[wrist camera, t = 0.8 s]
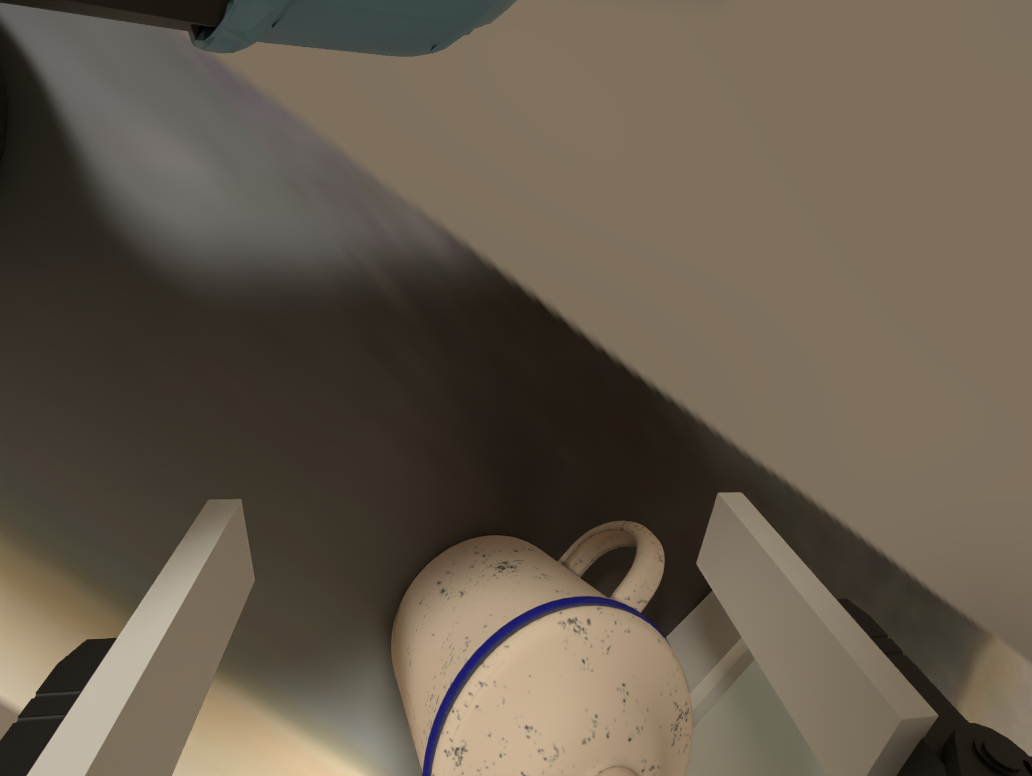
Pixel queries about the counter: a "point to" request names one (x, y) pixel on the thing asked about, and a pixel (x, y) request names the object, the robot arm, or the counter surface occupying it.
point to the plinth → (734, 703)
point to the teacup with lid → (540, 663)
